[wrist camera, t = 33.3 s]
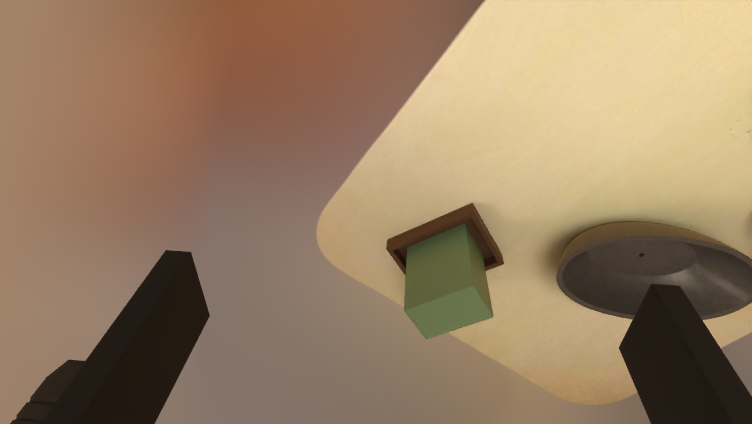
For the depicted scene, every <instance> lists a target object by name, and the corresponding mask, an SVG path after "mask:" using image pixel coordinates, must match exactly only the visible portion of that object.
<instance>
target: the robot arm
mask: <svg viewBox="0 0 752 424" xmlns="http://www.w3.org/2000/svg"><path fill="white" fill-rule="evenodd" d="M209 316H210V315H209V312H208V308H207V305H206V301H205V298H204V295H203V291H202V288H201V285H200V281H199V278H198V274H197V271H196V268H195V264H194V261H193V258H192V254H191V252H183V251H168V250H166V251H165V252H164V254H163V255H162V256H161V258H160V259H159V260H158V262H157V263H156V265H155V266H154V267H153V269H152V270H151V272H150V273H149V275H148V276H147V277H146V278H145V280H144V281H143V283H142V284H141V285H140V287H139V288H138V289H137V291H136V292H135V294H134V295H133V296H132V298H131V299H130V300H129V302H128V303H127V305H126V306H125V307H124V309H123V310H122V312H121V313H120V314H119V316H118V317H117V318H116V320H115V321H114V323H113V324H112V325H111V327H110V328H109V329H108V331H107V332H106V333H105V335H104V336H103V338H102V339H101V341H100V342H99V343H98V344H97V346H96V347H95V349H94V350H93V352H92V353H91V354H90V356H89V357H88V358H87V360H86V361H77V360H68V361H67V362H66V363H64V364H63V365H61V366H60V367H59V368H58V369H56V370H55V371H54V372H53V373H51V374H50V375H49V376H48V377H46V379H45V380H44V381H43V383H42V384H41V385H40V386H39V388H38V389H37V390H36V391H35V393H34V394H33V395H32V397H31V399H30V402H27V403H26V404H25V406H24V407H23V408H22V409H21V411H20V412H19V413H18V415H17V418H16V419H15V420H13V421H12V422H11V423H10V424H155V422H156V420H157V418H158V416H159V414H160V412H161V410H162V408H163V406H164V404H165V402H166V400H167V398H168V396H169V394H170V392H171V391H172V389H173V387H174V385H175V383H176V381H177V379H178V377H179V375H180V373H181V371H182V369H183V367H184V365H185V363H186V361H187V359H188V357H189V355H190V353H191V351H192V349H193V347H194V346H195V344H196V342H197V340H198V338H199V336H200V334H201V332H202V330H203V327H204V326H205V324H206V322H207V320H208V318H209ZM619 349H620V352H621V354H622V356H623V359H624V361H625V363H626V366H627V368H628V370H629V373H630V375H631V378H632V380H633V382H634V385H635V387H636V389H637V392H638V394H639V396H640V399H641V401H642V403H643V406H644V408H645V410H646V413H647V415H648V417H649V420H650V422H651V424H752V396H751V395H750V393H749V392H748V391H747V389H746V387H745V386H744V384H743V383H742V381H741V379H740V378H739V376H738V375H737V373H736V372H735V370H734V369H733V367H732V366H731V364H730V363H729V361H728V359H727V358H726V356H725V355H724V353H723V352H722V350H721V348H720V347H719V345H718V344H717V342H716V341H715V339H714V338H713V336H712V335H711V333H710V331H709V330H708V328H707V327H706V325H705V324H704V322H703V321H702V319H701V318H700V316H699V314H698V313H697V311H696V310H695V308H694V307H693V305H692V304H691V302H690V301H689V299H688V297H687V296H686V294H685V293H684V291H683V290H682V288H681V287H680V286H677V285H662V284H651V285H650V287H649V289H648V291H647V293H646V295H645V297H644V299H643V301H642V303H641V305H640V307H639V309H638V311H637V313H636V315H635V317H634V319H633V321H632V323H631V325H630V327H629V329H628V331H627V332H626V334H625V336H624V338H623V340H622V342H621V344H620V346H619Z"/></svg>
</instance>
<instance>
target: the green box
mask: <svg viewBox="0 0 752 424" xmlns="http://www.w3.org/2000/svg"><path fill="white" fill-rule="evenodd" d="M404 311H405V313H406V314H407V315H408V316H409V318H410V319H411V320H412V322H413V323H414V324H415V325H416V327H417V328H418V329H419V330H420V332H421V333H422V335H423V336H424V337H425V339H429V338H432V337H435V336H438V335H441V334H444V333H447V332H450V331H453V330H456V329H459V328H462V327H465V326H468V325H471V324H474V323H477V322H480V321H483V320H486V319H489V318H492V317H493V311H492V306H491V300H490V294H489V289H488V283H487V277H486V271H485V266H484V260H483V254H482V251H481V249H480V248H479V246H478V244H477V243H476V241H475V239H474V238H473V236H472V234H471V233H470V231H469V229H468V228H467V226H466V224H465V223H464V224H462V225H460V226H457V227H455V228H452V229H450V230H448V231H445V232H443V233H440V234H438V235H436V236H433V237H431V238H429V239H426V240H424V241H421V242H419V243H417V244H414V245H412V246H409V247H407V261H406V282H405V304H404Z"/></svg>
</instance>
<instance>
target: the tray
mask: <svg viewBox="0 0 752 424" xmlns="http://www.w3.org/2000/svg"><path fill="white" fill-rule="evenodd" d="M464 223H465V224H466V226H467V228H468V229H469V231H470V233H471V234H472V236H473V238H474V239H475V241H476V243H477V244H478V246H479V248H480V249H481V251H482V254H483V260H484V266H485V271H487V270H489V269H492V268H495V267H497V266H500V265H503V264H504V262H503V257H502V254H501V252H500V250H499V248H498V247H497V245H496V243H495V241H494V240H493V238H492V236H491V234H490V233H489V231H488V229H487V227H486V226H485V224H484V222H483V220H482V219H481V217H480V215H479V213H478V212H477V210H476V208H475V206H474V205H473V203H471V204H469V205H467V206H464V207H462V208H460V209H457V210H455V211H453V212H451V213H448V214H446V215H444V216H441V217H439V218H437V219H434V220H432V221H430V222H427V223H425V224H423V225H421V226H418V227H416V228H414V229H411V230H409V231H407V232H404V233H402V234H400V235H397V236H395V237H393V238H391V239H388V241H387V251H388V252H389V253H390V255H391V256H392V257H393V259H394V260H395V262H396V263H397V264H398V266H399V267H400V268H401V270H402V271H403V273H404V274H405V275H406V261H407V247H409V246H412V245H414V244H417V243H419V242H421V241H424V240H426V239H429V238H431V237H433V236H436V235H438V234H440V233H443V232H445V231H448V230H450V229H452V228H455V227H457V226H460V225H462V224H464Z"/></svg>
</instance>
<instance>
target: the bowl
mask: <svg viewBox="0 0 752 424" xmlns="http://www.w3.org/2000/svg"><path fill="white" fill-rule="evenodd" d="M557 282H558V285H559V287H560V289H561V290H562V292H563V293H564V294H565V295H566V296H568V297H569V298H570V299H572V300H573V301H575V302H576V303H578V304H580V305H582V306H584V307H587V308H589V309H592V310H595V311H598V312H601V313H605V314H609V315H613V316H617V317H622V318H628V319H634V317H635V315H636V313H637V311H638V309H639V307H640V305H641V303H642V301H643V299H644V297H645V295H646V293H647V291H648V289H649V287H650V285H651V284H662V285H677V286H680V287H681V288H682V290H683V291H684V293H685V294H686V296H687V297H688V299H689V301H690V302H691V304H692V305H693V307H694V308H695V310H696V311H697V313H698V314H699V316H700V318H701V319H702V320H706V319H711V318H716V317H720V316H724V315H727V314H730V313H733V312H735V311H738V310H740V309H742V308H744V307H745V306H747V305H748V304H750V303H751V302H752V259H751V258H749V257H748V256H746V255H744V254H743V253H741V252H739V251H737V250H735V249H734V248H732V247H730V246H728V245H726V244H724V243H721V242H719V241H717V240H715V239H712V238H710V237H707V236H704V235H702V234H699V233H696V232H692V231H689V230H685V229H682V228H677V227H673V226H668V225H662V224H655V223H647V222H615V223H608V224H603V225H599V226H596V227H593V228H591V229H589V230H587V231H585V232H583V233H581V234H579V235H578V236H577V237H575V238H574V239H573V240H572V241H571V242H570V243H569V244H568V246H567V247H566V248H565V250H564V252H563V254H562V256H561V258H560V261H559V264H558V269H557Z"/></svg>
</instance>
